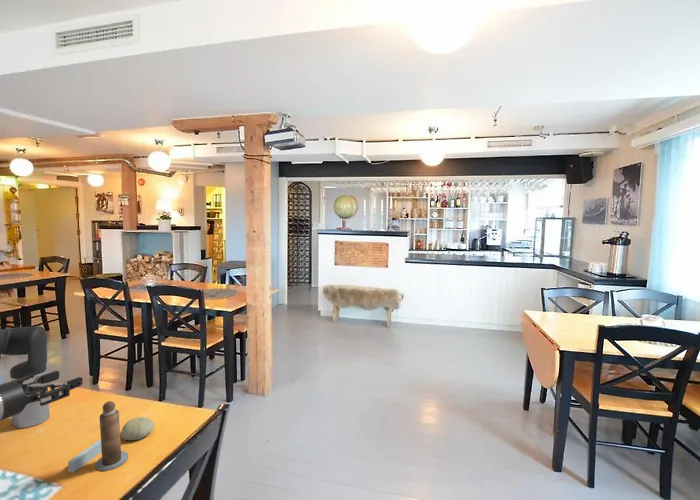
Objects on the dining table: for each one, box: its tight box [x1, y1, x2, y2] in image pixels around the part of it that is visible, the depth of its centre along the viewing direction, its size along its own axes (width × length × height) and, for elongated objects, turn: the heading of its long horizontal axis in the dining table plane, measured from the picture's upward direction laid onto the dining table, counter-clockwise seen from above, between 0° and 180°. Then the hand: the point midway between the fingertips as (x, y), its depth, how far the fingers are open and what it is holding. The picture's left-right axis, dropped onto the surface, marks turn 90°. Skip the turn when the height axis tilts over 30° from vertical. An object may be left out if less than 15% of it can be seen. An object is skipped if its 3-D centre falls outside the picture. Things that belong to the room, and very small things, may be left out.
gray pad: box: [95, 450, 129, 472], centre depth 105 cm, size 8×8×1 cm
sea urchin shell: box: [120, 416, 155, 441], centre depth 118 cm, size 9×8×8 cm
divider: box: [67, 438, 102, 474], centre depth 106 cm, size 2×12×3 cm, turn 170°
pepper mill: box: [99, 400, 122, 466], centre depth 104 cm, size 5×5×18 cm
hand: (69, 377), depth 93 cm, fingers open, 8 cm apart
